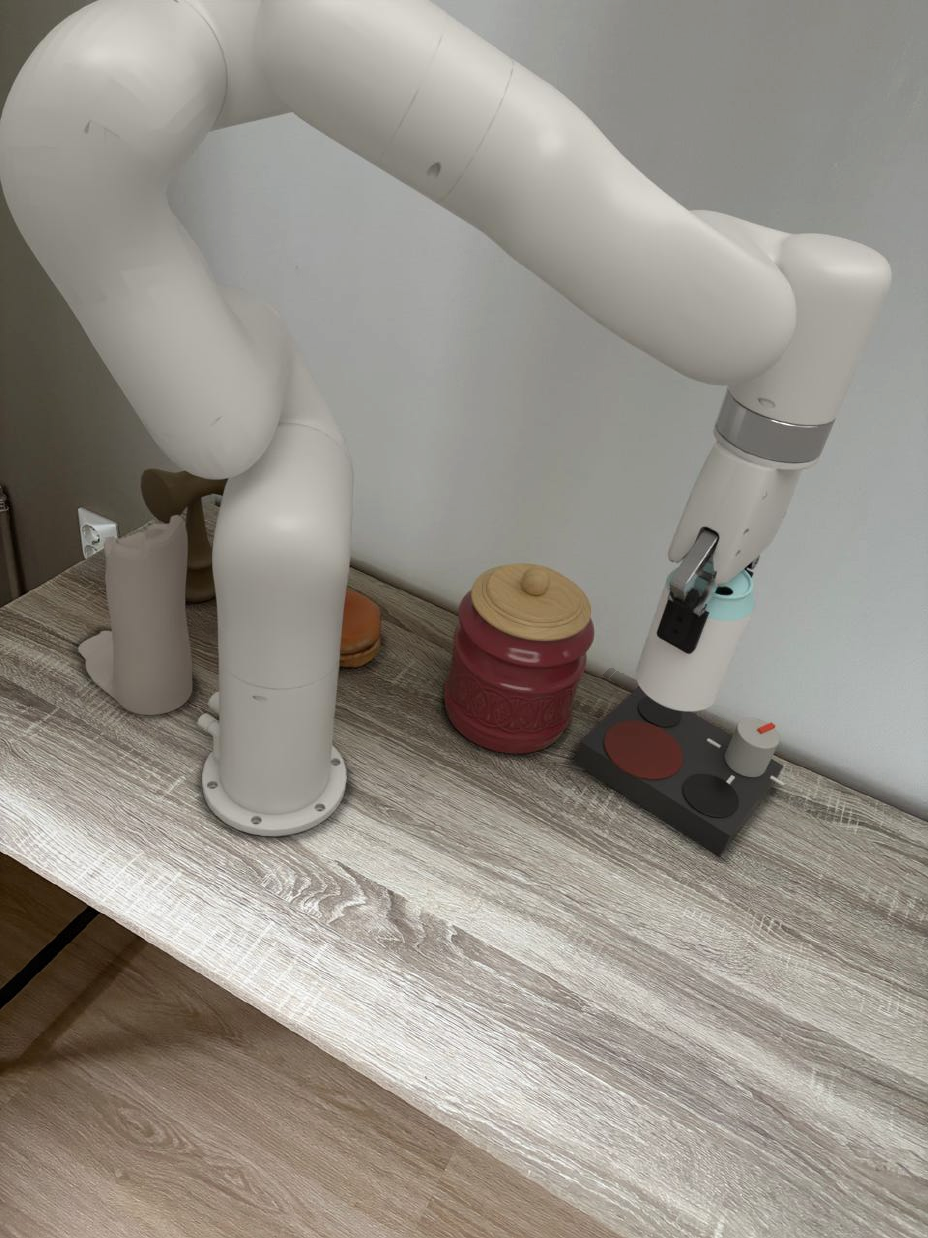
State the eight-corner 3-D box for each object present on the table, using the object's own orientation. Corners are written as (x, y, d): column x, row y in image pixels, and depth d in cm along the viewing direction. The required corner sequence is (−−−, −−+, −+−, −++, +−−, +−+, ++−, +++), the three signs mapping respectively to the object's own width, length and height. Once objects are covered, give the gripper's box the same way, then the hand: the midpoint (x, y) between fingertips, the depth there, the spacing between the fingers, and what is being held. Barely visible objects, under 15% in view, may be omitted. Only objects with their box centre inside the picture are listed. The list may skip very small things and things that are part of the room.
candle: (120, 622, 101) (105, 451, 89) (208, 691, 95) (204, 518, 83) (57, 652, 96) (32, 476, 84) (145, 726, 90) (131, 548, 78)
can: (731, 695, 83) (779, 582, 76) (683, 729, 79) (729, 613, 72) (666, 650, 87) (706, 538, 80) (616, 681, 83) (654, 565, 75)
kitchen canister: (594, 731, 99) (638, 592, 88) (490, 774, 92) (525, 629, 81) (518, 654, 106) (550, 518, 96) (417, 689, 100) (440, 546, 89)
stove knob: (745, 783, 92) (760, 751, 89) (715, 754, 94) (729, 722, 91) (774, 769, 94) (789, 737, 91) (744, 742, 96) (758, 710, 94)
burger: (390, 666, 102) (395, 631, 99) (301, 676, 99) (303, 641, 96) (367, 608, 109) (370, 574, 106) (283, 616, 106) (284, 582, 103)
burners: (588, 749, 92) (589, 747, 92) (650, 690, 100) (650, 688, 100) (719, 832, 86) (720, 830, 86) (773, 762, 95) (774, 760, 94)
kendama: (250, 588, 109) (252, 426, 97) (177, 622, 103) (170, 453, 90) (215, 563, 112) (213, 402, 99) (142, 594, 105) (131, 427, 93)
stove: (573, 762, 95) (580, 739, 93) (642, 697, 104) (649, 674, 102) (730, 864, 88) (742, 841, 86) (789, 784, 97) (801, 762, 95)
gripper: (774, 374, 75) (706, 562, 86) (665, 438, 64) (602, 646, 75) (866, 412, 72) (783, 602, 83) (769, 487, 61) (687, 697, 71)
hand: (698, 622), depth 79 cm, fingers closed on can, 7 cm apart
